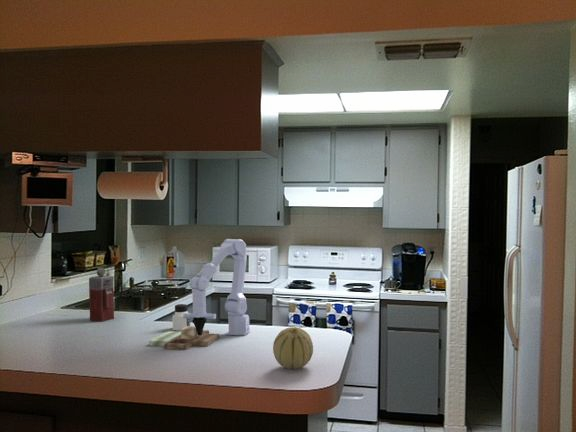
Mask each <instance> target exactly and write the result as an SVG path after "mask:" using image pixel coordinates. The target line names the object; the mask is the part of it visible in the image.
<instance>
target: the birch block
mask: <svg viewBox="0 0 576 432" xmlns="http://www.w3.org/2000/svg"><path fill="white" fill-rule="evenodd" d="M180 332H181V339H195V338H196V337H198V336H199V335H198V334H197V330H196V327H195V325H194V326H191V325H190V326H186V327H184V328H183V329H181V330H180Z"/></svg>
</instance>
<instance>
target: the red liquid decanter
mask: <svg viewBox="0 0 576 432" xmlns="http://www.w3.org/2000/svg"><path fill="white" fill-rule="evenodd" d="M105 274H106V269H105V268H104V267H99V268H97V269H96V276H92V277H89V278H88V291H89V295H88V296H89V298H88V300H89V321H90V322H99V323H100V322H101V323H102V322H106V321H111V320H113V319H114V320H115V303H114V302H115V300H114V299H115V298H114V297H115V296H114V295H115V294H114V277H113V276H112V275H105Z"/></svg>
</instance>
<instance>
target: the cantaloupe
mask: <svg viewBox="0 0 576 432" xmlns="http://www.w3.org/2000/svg"><path fill="white" fill-rule="evenodd" d="M272 350H273V351H272V352H273V355H274V358H275V360H276V361H277V362H276V363H278V365H279V366H281V367H283V368H285V369H287V370H298V369H301V368H304V367H305V366H306V365H308V363H310V361H311V359H312V357H313V355H314V345H313V339H312V338H311V336H310V334H309V333H308V332H307V331H306V330H304V329H302V328H301V327H296V326H295V327H294V326H292V327H287V328H285V329H281V330H280V332H278V333H277V335H276V336H275V338H274V341H273V345H272Z"/></svg>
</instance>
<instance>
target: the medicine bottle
mask: <svg viewBox="0 0 576 432" xmlns="http://www.w3.org/2000/svg"><path fill="white" fill-rule="evenodd" d="M185 313H189V311H188V305H187V304H186V303H177V304H176V305H174V314H173V315H172V331H173V330H176V331H181V329H183V328H184V327H186V326H191V318H183V314H185Z"/></svg>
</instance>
